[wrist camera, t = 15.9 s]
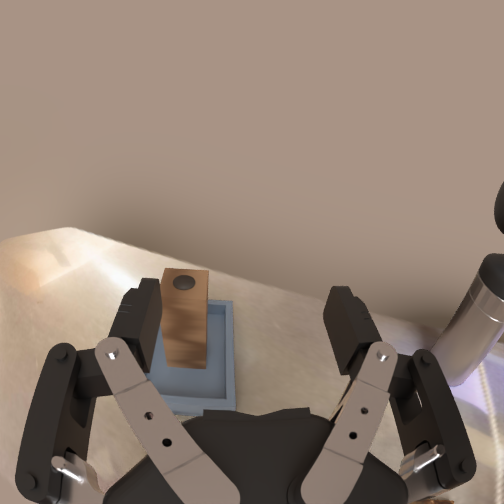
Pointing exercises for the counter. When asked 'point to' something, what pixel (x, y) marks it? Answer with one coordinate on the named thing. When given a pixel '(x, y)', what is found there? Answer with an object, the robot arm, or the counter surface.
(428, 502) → the shard
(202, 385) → the slate tray
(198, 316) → the walnut block
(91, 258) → the counter surface
